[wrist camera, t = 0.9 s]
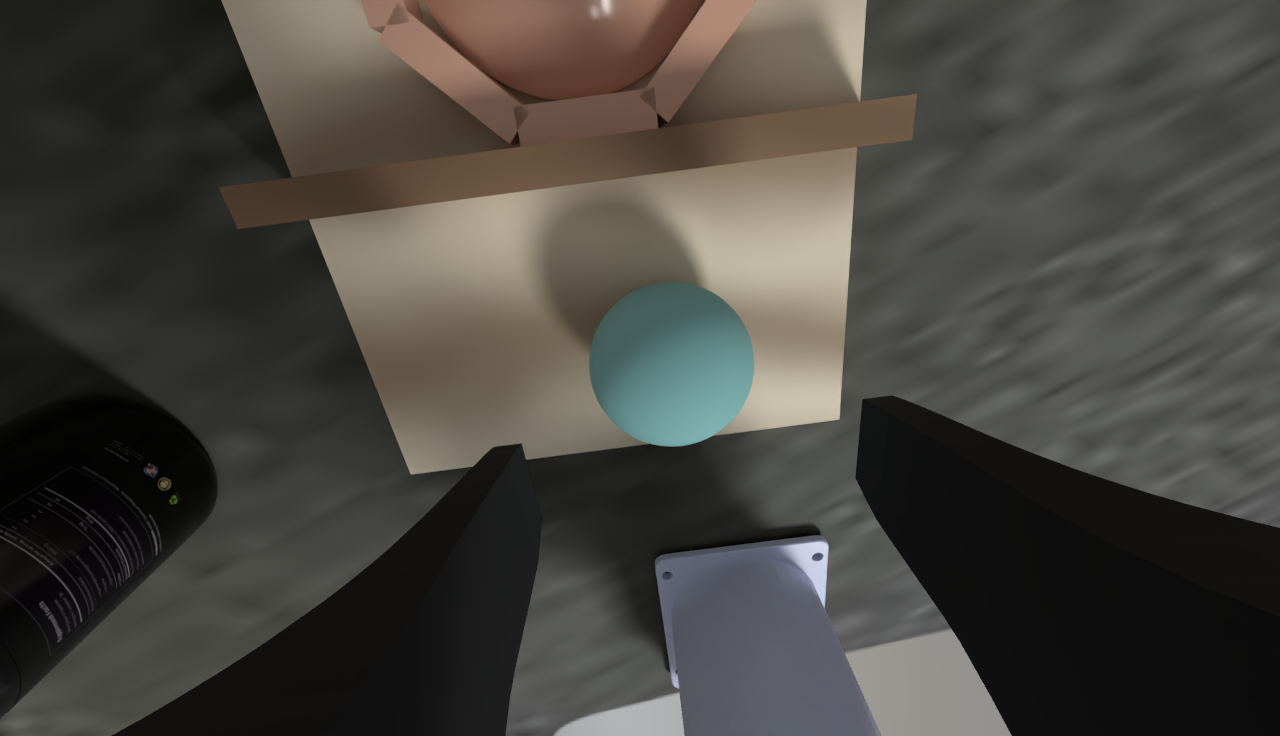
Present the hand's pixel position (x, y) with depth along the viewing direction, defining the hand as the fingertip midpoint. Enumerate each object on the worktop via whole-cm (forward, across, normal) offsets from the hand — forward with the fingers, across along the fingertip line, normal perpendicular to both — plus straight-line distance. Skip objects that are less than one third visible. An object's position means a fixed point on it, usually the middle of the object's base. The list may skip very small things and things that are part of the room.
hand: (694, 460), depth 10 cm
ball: (+8, 0, 0) cm, 8 cm away
